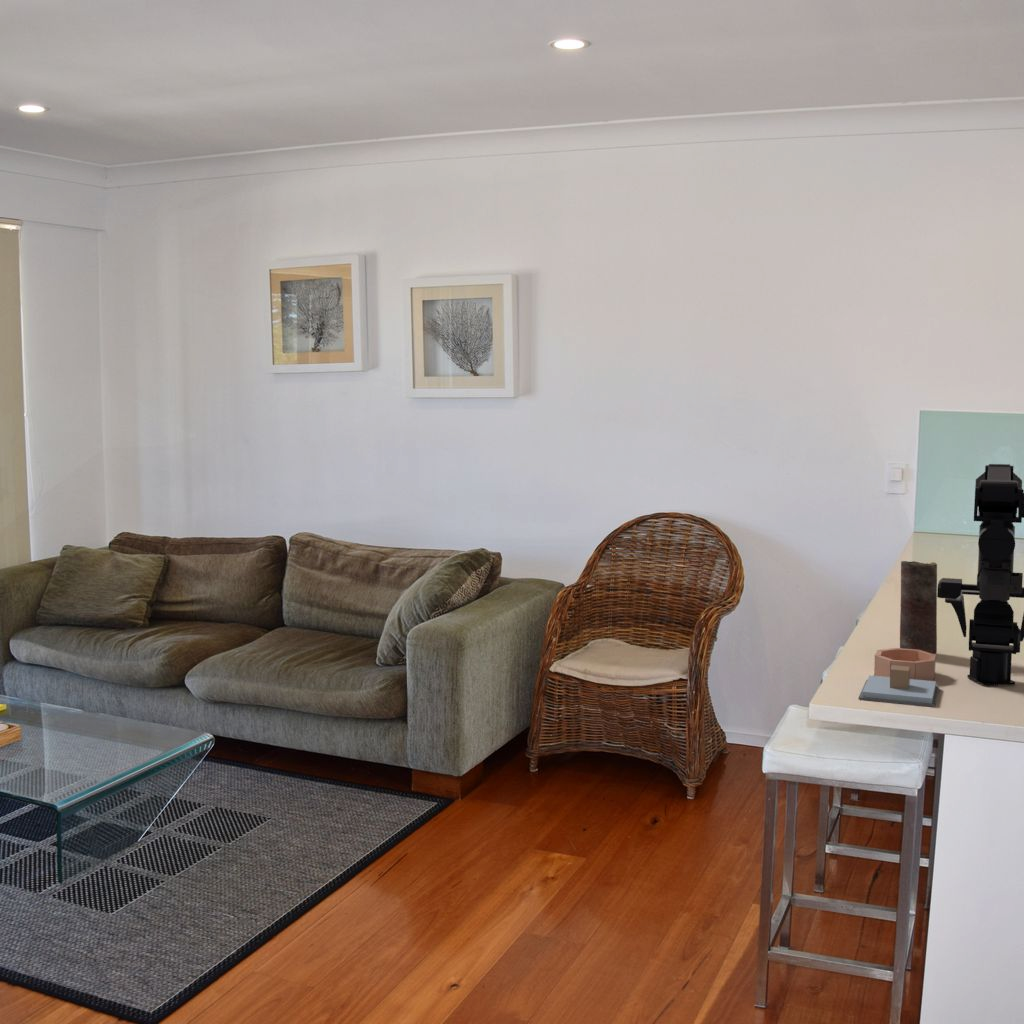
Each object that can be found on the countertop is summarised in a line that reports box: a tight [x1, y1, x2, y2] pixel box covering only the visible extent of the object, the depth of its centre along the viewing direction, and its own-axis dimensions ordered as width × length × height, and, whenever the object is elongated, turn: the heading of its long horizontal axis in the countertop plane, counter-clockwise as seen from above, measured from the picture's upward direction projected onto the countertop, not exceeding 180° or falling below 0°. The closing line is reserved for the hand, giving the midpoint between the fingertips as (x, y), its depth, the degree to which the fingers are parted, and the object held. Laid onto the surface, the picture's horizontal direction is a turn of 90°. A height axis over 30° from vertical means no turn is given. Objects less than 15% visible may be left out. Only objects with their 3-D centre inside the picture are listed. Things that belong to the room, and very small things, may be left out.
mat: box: [858, 679, 939, 708], centre depth 206 cm, size 13×13×1 cm
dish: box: [873, 647, 937, 681], centre depth 219 cm, size 11×11×4 cm
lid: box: [861, 665, 937, 704], centre depth 206 cm, size 12×12×4 cm
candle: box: [899, 560, 938, 655], centre depth 234 cm, size 8×7×20 cm
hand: (992, 638), depth 198 cm, fingers open, 9 cm apart
